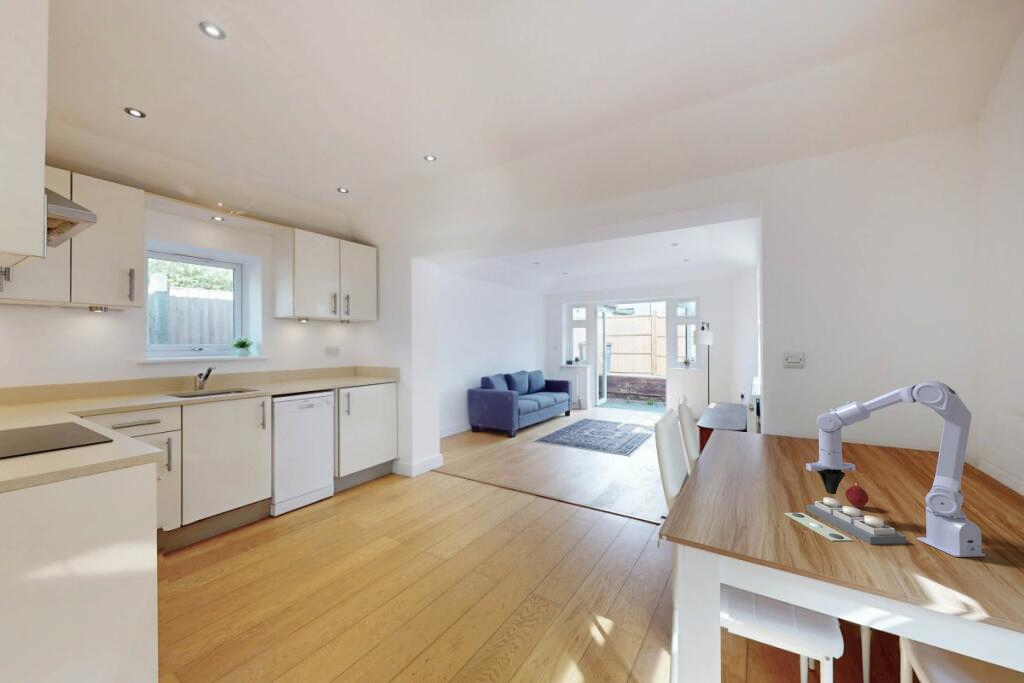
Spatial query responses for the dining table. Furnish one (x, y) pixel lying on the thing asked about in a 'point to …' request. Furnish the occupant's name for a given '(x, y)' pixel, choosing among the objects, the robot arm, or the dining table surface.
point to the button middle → (851, 511)
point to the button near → (873, 521)
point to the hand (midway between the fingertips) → (831, 493)
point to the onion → (856, 496)
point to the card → (818, 527)
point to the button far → (831, 502)
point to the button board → (856, 525)
